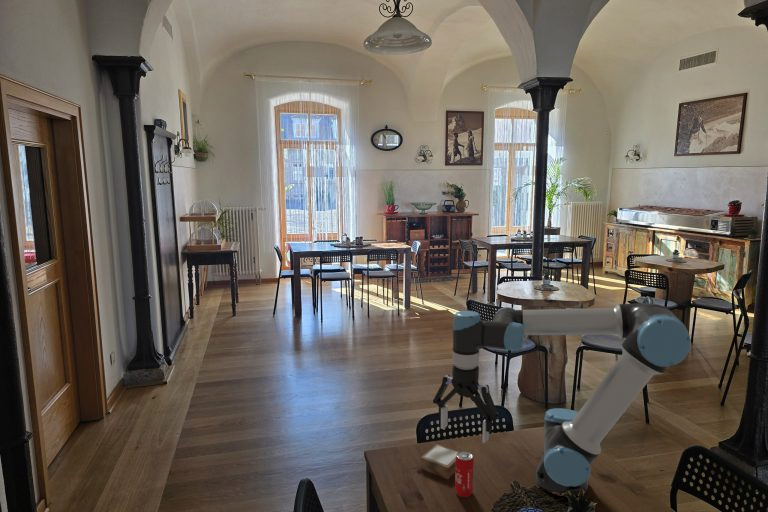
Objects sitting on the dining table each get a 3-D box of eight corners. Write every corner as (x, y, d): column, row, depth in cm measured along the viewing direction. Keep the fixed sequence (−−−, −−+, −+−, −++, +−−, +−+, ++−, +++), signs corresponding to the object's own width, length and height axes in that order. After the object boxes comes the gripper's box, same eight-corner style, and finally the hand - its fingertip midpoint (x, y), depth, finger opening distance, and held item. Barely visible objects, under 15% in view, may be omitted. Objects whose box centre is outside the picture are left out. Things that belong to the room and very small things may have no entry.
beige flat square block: (463, 464, 167) (463, 453, 166) (448, 479, 159) (448, 467, 158) (436, 454, 173) (436, 443, 172) (420, 468, 165) (420, 456, 164)
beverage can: (472, 499, 150) (473, 461, 148) (454, 496, 151) (455, 459, 149) (472, 488, 155) (473, 451, 153) (455, 486, 156) (456, 450, 154)
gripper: (512, 370, 142) (509, 441, 146) (435, 352, 157) (434, 417, 160) (500, 379, 136) (498, 452, 140) (421, 359, 151) (421, 426, 154)
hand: (464, 433), depth 150 cm, fingers open, 13 cm apart
